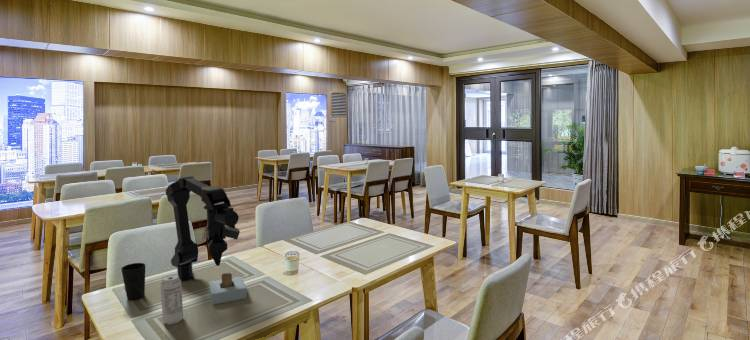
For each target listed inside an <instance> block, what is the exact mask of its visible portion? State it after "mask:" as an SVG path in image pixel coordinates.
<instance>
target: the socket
mask: <svg viewBox="0 0 750 340" xmlns="http://www.w3.org/2000/svg"><path fill="white" fill-rule="evenodd" d="M208 289H209V295H210V296H209V297H210V301H211V305H212V306H213V305H214V306H215V305H218V304H224V303H228V302H234V301H238V300H244V299H247V297H248V296H247V295H248V294H247V287H246V284H245V281H244V279H243V277H242V276H236V277H232V287H227V288H222V279H219V280H218V279H217V280H213V281H208Z"/></svg>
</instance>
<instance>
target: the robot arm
mask: <svg viewBox="0 0 750 340" xmlns="http://www.w3.org/2000/svg"><path fill="white" fill-rule="evenodd" d="M191 192H192V193H194V194H196V195H198V196H199V197H200V198H201V201H202V203H204V206H203V209H204V210H206V221H207V222H206V227H207V231H205V239H206V243H207V245H208V252H209V254H210V256H211V258H212V260H213V261H214V264H215V266H217V267H218V266H220V265H221V260H222V257H223V256H222V255H223V253H225V252H226V251H227V250H228V243H227V240H226V238H230V239H233V240H238V238H239V235H240V233H241V231H240V229H239V228H237V227H236V225H237V224H238V222H239V218H240V217H239V214H238V213H237V212H236V211H235V210H234V207H232V204H231V200H230V199H229V197H228V196H227V193H226V191H225V190H224V189H223V188H222V187H218V186H210V185H208V184H207V183H206V184H205V183H203V182H202V181H200V180H198V179H196V178H195V177H194V176H191V175H190V176H182V177H179V179H177V180H176V181H174V182H172V183H171V184H169V185H168V186H167V188H166V189H165V195H166V198H167V201H168V202H169V204H170V205H171V206H172V208H173V212H174V214H173V215H174V220H175V221H174V223H175V229H176V235H177V243H176V245H175V246H174V254H173V256H172V258H171V259H170V263H171V266H173V267H175V268H176V271H177V275H178V276H179V279H180V280H181V282H182V281H183V282H184V281H189V280H194V279H195V273H194V272H193V270H194V269H193V263H197V262H198V257H199V250H198V243H197V242H194V241H193V240H192V237H191V230H190V228H191V227H190V221H189V213H188V206H187V204H188V203H189V200H190V198H191V197H190V196H191Z"/></svg>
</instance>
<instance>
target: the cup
mask: <svg viewBox="0 0 750 340" xmlns="http://www.w3.org/2000/svg"><path fill="white" fill-rule="evenodd" d="M120 269H121V273H122V274H121V275H122V280H123V286H124V289H125V293H126V299H127V301H130V302H132V301H138V300H141V299H143V298H145V295H146V294H145V293H146V263H144V262H143V263H142V262H134V263H129V264H126V265H124V266H122V267H121V268H120Z"/></svg>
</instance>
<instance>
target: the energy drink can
mask: <svg viewBox="0 0 750 340" xmlns="http://www.w3.org/2000/svg"><path fill="white" fill-rule="evenodd" d="M161 279H162V280H161V282H160V285H159V286H160V297H161V298H160V299H161V310H162V321H163V323H164V324H165V325H168V326H169V325H176V324H178V323H180V322H181V321H182V319H183V318H184V306H183V305H184V304H183V291H182V290H183V289H182V281H181V280H180V279H179V276H178V274H169V275H165V276H163V277H162V278H161Z"/></svg>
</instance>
